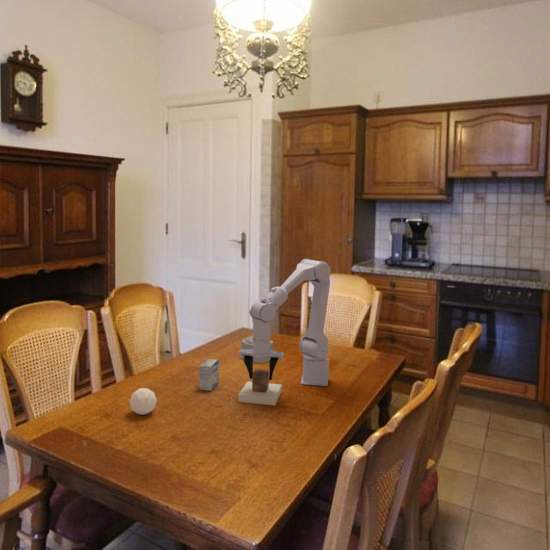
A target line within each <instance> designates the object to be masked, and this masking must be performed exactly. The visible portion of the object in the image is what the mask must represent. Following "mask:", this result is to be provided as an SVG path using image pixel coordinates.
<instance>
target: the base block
mask: <svg viewBox="0 0 550 550" xmlns="http://www.w3.org/2000/svg"><path fill="white" fill-rule="evenodd" d="M282 387H283V385H282V384H278V383H270V382H269V387H268V389H267V391H266V392H254V391H252V381H246V383H245V385H244V386H243V387H242V389H241V390H240V392H239V393H238V397H237V398H238V400H237V401H238V403H248V404H257V405H267V406H276V404H277V402H278V399H279V398H280V396H281V394H282V389H283V388H282Z"/></svg>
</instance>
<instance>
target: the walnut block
mask: <svg viewBox="0 0 550 550" xmlns="http://www.w3.org/2000/svg"><path fill="white" fill-rule="evenodd" d="M269 373H270V369H258V368H255V369H253V374H252V379H251V382H252V391H254V392H266V391H267V389H268V387H269V383H270V382H269V381H270V380H269Z"/></svg>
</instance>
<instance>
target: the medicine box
mask: <svg viewBox="0 0 550 550" xmlns="http://www.w3.org/2000/svg"><path fill="white" fill-rule="evenodd" d="M219 361H220V360H219V359H214V358H213V359H212V358H207V359H206V360H205V361H203V363H201V364H200V365H199V367H198V371H199V372H198V373H199V375H198V377H199V378H198V379H199V390H200V391H209V392H212V391H213V390H214V389H215V387H216V386H217V385H218V384H219V381H220V379H219V378H220V377H219V376H220V375H219V371H220V370H219V368H220V367H219ZM213 388H214V389H213Z"/></svg>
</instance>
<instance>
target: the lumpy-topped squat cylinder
mask: <svg viewBox="0 0 550 550" xmlns="http://www.w3.org/2000/svg"><path fill="white" fill-rule="evenodd" d="M241 349H242V350H247V349H253V335H250V336H247V337H245V338H243V339H242V340H241ZM270 350H272V351H274V341H273V340H271V339H270ZM241 359H242V360H243V359H244V356H242V357H241ZM270 359H271V358H260V357H253V364H255V363H256V364H266V363H267V362H268V363H269V361H270Z"/></svg>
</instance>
